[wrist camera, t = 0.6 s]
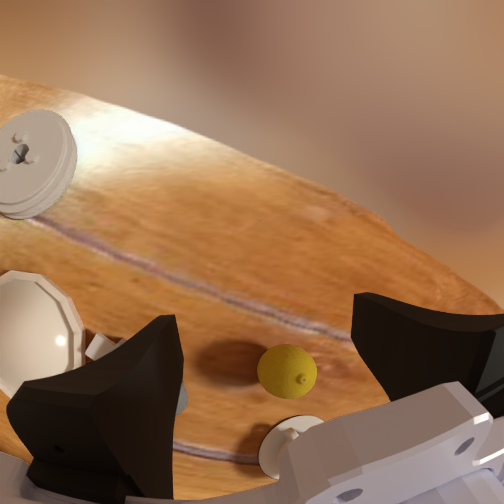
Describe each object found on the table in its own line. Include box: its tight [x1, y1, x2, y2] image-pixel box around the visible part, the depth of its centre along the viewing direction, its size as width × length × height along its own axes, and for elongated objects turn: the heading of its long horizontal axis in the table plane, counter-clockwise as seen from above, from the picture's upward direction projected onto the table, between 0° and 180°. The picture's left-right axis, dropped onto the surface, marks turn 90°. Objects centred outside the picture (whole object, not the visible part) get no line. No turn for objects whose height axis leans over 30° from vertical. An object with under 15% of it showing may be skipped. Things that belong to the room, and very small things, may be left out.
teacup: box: [259, 415, 324, 480], centre depth 29 cm, size 10×10×5 cm
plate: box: [0, 270, 86, 399], centre depth 23 cm, size 14×14×2 cm
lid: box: [0, 110, 77, 219], centre depth 25 cm, size 13×13×5 cm
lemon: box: [257, 344, 317, 399], centre depth 28 cm, size 6×6×8 cm
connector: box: [85, 332, 188, 415], centre depth 26 cm, size 4×10×4 cm, turn 57°
